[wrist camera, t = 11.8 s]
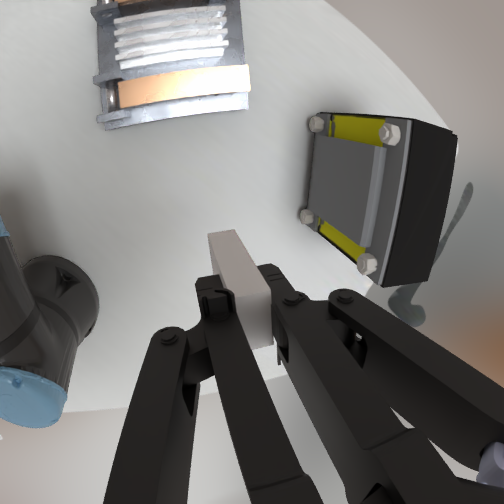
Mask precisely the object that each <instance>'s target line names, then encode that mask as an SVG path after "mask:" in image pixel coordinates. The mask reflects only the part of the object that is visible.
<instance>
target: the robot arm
mask: <svg viewBox="0 0 504 504" xmlns="http://www.w3.org/2000/svg"><path fill="white" fill-rule="evenodd" d="M9 236H10V234H9V232H8V231H7V230H6V228H5V226H4V223H3V221H2V218H1V216H0V418H2V419H4V420H6V421H8V422H11V423H13V424H16V425H19V426H23V427H28V428H45V427H49V426H51V425H53V424H55V423H56V422H57V421H58V420H59V418H60V417H61V414H62V410H63V407H64V403H65V402H66V401H67V392H68V387H69V382H70V377H71V373H72V368H73V364H74V359H75V355H76V351H77V347H78V346H79V345H80V343H81V342H82V341H83V340H84V338H86V337H87V336H88V335H89V333H90V332H91V331H92V329H93V328H94V326H95V323H96V320H97V316H98V312H99V299H98V295H97V292H96V289H95V287H94V285H93V283H92V282H91V280H90V279H89V277H88V276H87V275H86V274H85V273H84V272H83V271H82V270H81V269H80V268H79V267H78V266H76V265H75V264H73V263H72V262H70V261H68V260H66V259H63V258H60V257H55V256H41V257H37V258H35V259H33V260H31V261H29V262H28V263H27V264H26V265H25V266H24V267H23V269H21V266H20V264H19V261H18V259H17V256H16V254H15V251H14V249H13V246H12V243H11V240H10V238H9ZM208 241H209V248H210V255H211V261H212V268H213V275H211V276H206V277H201V278H198V279H197V281H196V283H195V287H196V292H197V297H198V302H199V307H200V312H201V320H200V322H199V323H198V324H197V325H196V326H195V327H193V328H192V329H190V330H187V331H184V330H183V329H181V328H179V327H165V328H163V329H160V330H159V331H157V332H156V333H155V334H154V335H153V337H152V338H151V341H150V344H149V347H148V350H147V353H146V355H145V358H144V361H143V364H142V367H141V371H140V374H139V377H138V380H137V383H136V386H135V389H134V392H133V395H132V399H131V402H130V405H129V409H128V412H127V416H126V419H125V422H124V426H123V429H122V432H121V436H120V439H119V443H118V446H117V450H116V454H115V458H114V461H113V465H112V469H111V473H110V477H109V481H108V485H107V489H106V493H105V497H104V502H103V504H187V498H188V488H189V478H190V468H191V459H192V450H193V441H194V432H195V423H196V415H197V408H198V399H199V392H200V382H201V381H203V380H205V379H208V378H210V377H212V376H214V375H215V378H216V382H217V386H218V390H219V394H220V398H221V402H222V406H223V410H224V413H225V417H226V421H227V424H228V428H229V431H230V435H231V439H232V442H233V445H234V449H235V453H236V456H237V459H238V463H239V466H240V469H241V472H242V476H243V479H244V482H245V485H246V488H247V491H248V495H249V498H250V501H251V504H324V503H323V501H322V499H321V497H320V495H319V493H318V491H317V489H316V486H315V485H314V483H313V481H312V479H311V478H310V476H309V475H307V474H305V473H304V472H303V470H302V468H301V466H300V464H299V461H298V459H297V457H296V455H295V452H294V450H293V448H292V446H291V444H290V441H289V439H288V437H287V434H286V432H285V430H284V427H283V425H282V422H281V420H280V418H279V415H278V413H277V411H276V408H275V406H274V404H273V401H272V399H271V396H270V394H269V392H268V389H267V387H266V384H265V382H264V380H263V377H262V375H261V372H260V370H259V367H258V365H257V362H256V360H255V357H254V355H253V352H252V350H253V349H258V348H262V347H266V346H270V345H274V341H273V336H274V338H275V340H276V342H277V362H278V365H281V360H282V362H283V365H284V367H285V369H286V371H287V373H288V375H289V377H290V379H291V381H292V383H293V385H294V387H295V389H296V391H297V393H298V395H299V397H300V399H301V401H302V403H303V405H304V407H305V409H306V411H307V413H308V415H309V417H310V419H311V421H312V423H313V425H314V427H315V429H316V431H317V433H318V435H319V437H320V439H321V441H322V443H323V445H324V446H325V448H326V450H327V452H328V454H329V456H330V458H331V460H332V462H333V464H334V466H335V468H336V470H337V472H338V474H339V476H340V478H341V479H342V481H343V484H344V486H345V492H346V498H347V501H348V503H349V504H504V388H503V387H501V386H500V385H498V384H497V383H495V382H494V381H492V380H491V379H490V378H488V377H486V376H485V375H483V374H482V373H481V372H479V371H478V370H476V369H475V368H473V367H472V366H470V365H469V364H467V363H466V362H464V361H463V360H461V359H460V358H458V357H457V356H455V355H454V354H452V353H451V352H449V351H448V350H446V349H445V348H443V347H441V346H440V345H438V344H437V343H435V342H434V341H432V340H431V339H429V338H428V337H426V336H424V335H423V334H421V333H420V332H419V331H417V330H415V329H414V328H412V327H411V326H409V325H408V324H406V323H405V322H403V321H402V320H400V319H398V318H397V317H395V316H394V315H392V314H391V313H389V312H387V311H386V310H384V309H383V308H381V307H380V306H378V305H376V304H375V303H373V302H372V301H370V300H369V299H367V298H365V297H364V296H362V295H361V294H359V293H358V292H356V291H353V290H350V289H338V290H334V291H333V292H331V293H330V295H329V297H328V300H322V301H313V300H310V299H309V298H308V296H307V295H305V294H304V293H302V292H299V291H295V290H294V288H293V287H292V285H291V284H290V283H289V281H288V280H287V279H286V278H285V276H284V274H282V272H281V270H280V269H279V268H278V267H277V266H275V265H273V264H271V263H270V264H265V265H260V266H256V265H255V263H254V261H253V260H252V258H251V256H250V255H249V253H248V251H247V250H246V248H245V246H244V245H243V243H242V241H241V240H240V238H239V236H238V235H237V233H236V231H235V230H228V231H222V232H216V233H210V234H208ZM356 333H358V334H359V335H360V336H362V339H360V338H358V337H357V336H356ZM390 407H391V408H392V409H393V410H394V411H396V412H397V413H398V414H399V415H400V416H402V417H403V418H404V419H405V420H406V421H408V422H409V423H410V424H411V425H412V426H414V427H415V428H409V429H408V428H406V427H404V425H403V424H402V423H401V422H400V420H399V419H398V417H397V416H396V415H395V413H394V412H393V411H392V409H391V408H390ZM428 439H429V440H431V441H432V442H433V443H435V445H437V446H438V447H439V448H440V449H442V450H443V451H444V452H445V453H447V454H448V455H449V456H450V457H452V458H453V459H455V460H456V461H458V462H459V463H461V464H462V465H464V466H466V467H468V468H470V469H473V470H475V471H478V472H479V473H478V475H477V478H476V480H477V482H475V481H471V480H467V479H463V478H459V477H456V476H455V475H454V474H453V472H452V471H451V469H450V468H449V467H448V465H447V464H446V463H445V461H444V460H443V459H442V457H441V456H440V454H439V453H438V452H437V451H436V449H435V448H434V446H433V445H432V444H431V442H430V441H429V440H428Z"/></svg>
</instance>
